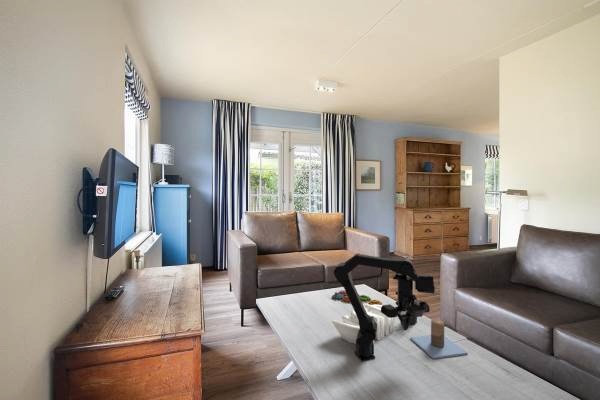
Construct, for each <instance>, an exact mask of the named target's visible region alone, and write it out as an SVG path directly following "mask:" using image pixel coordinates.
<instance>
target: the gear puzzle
mask: <svg viewBox="0 0 600 400" xmlns="http://www.w3.org/2000/svg"><path fill="white" fill-rule="evenodd" d="M358 295H359V297H360V299H361V301H362V304H363V303H366V304H369V305H383V302H381V301H380V300H378V299H372V298H371V297H370V296H367V295H365V294H361V295H360V294H359V293H358ZM330 299H331V300H332V301H336V302H338V301H339V302H341V303H343V304H351V302H350V300H349V298H348V296H347V293H346V291H345V289H342V290H339V291H338V292H337V291H335V292H334V294H332V296H331V298H330ZM351 305H352V304H351Z"/></svg>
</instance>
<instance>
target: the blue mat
mask: <svg viewBox="0 0 600 400" xmlns="http://www.w3.org/2000/svg"><path fill="white" fill-rule="evenodd" d="M410 340H411V341H412V342H413V343H414V344H416V346H417V347H419V348H420V349H421V350H422V352H424V353H425V354H426V355H428V356H429V357H430V358H431V359H432V360H437V359H443V358H444V359H445V358H451V357H460V356H466V355H467V356H468V354H469V353H468V352H467V350H465V349H464V348H462V347H461V346H459V345H458V344H457V343H455V342H454V341H452V340H451V339H450V338H448V337H447V336H445V335H444V347H442V348H438V347H435V346H433V345H432V344H431V334H427V335H419V336H411V337H410Z"/></svg>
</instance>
